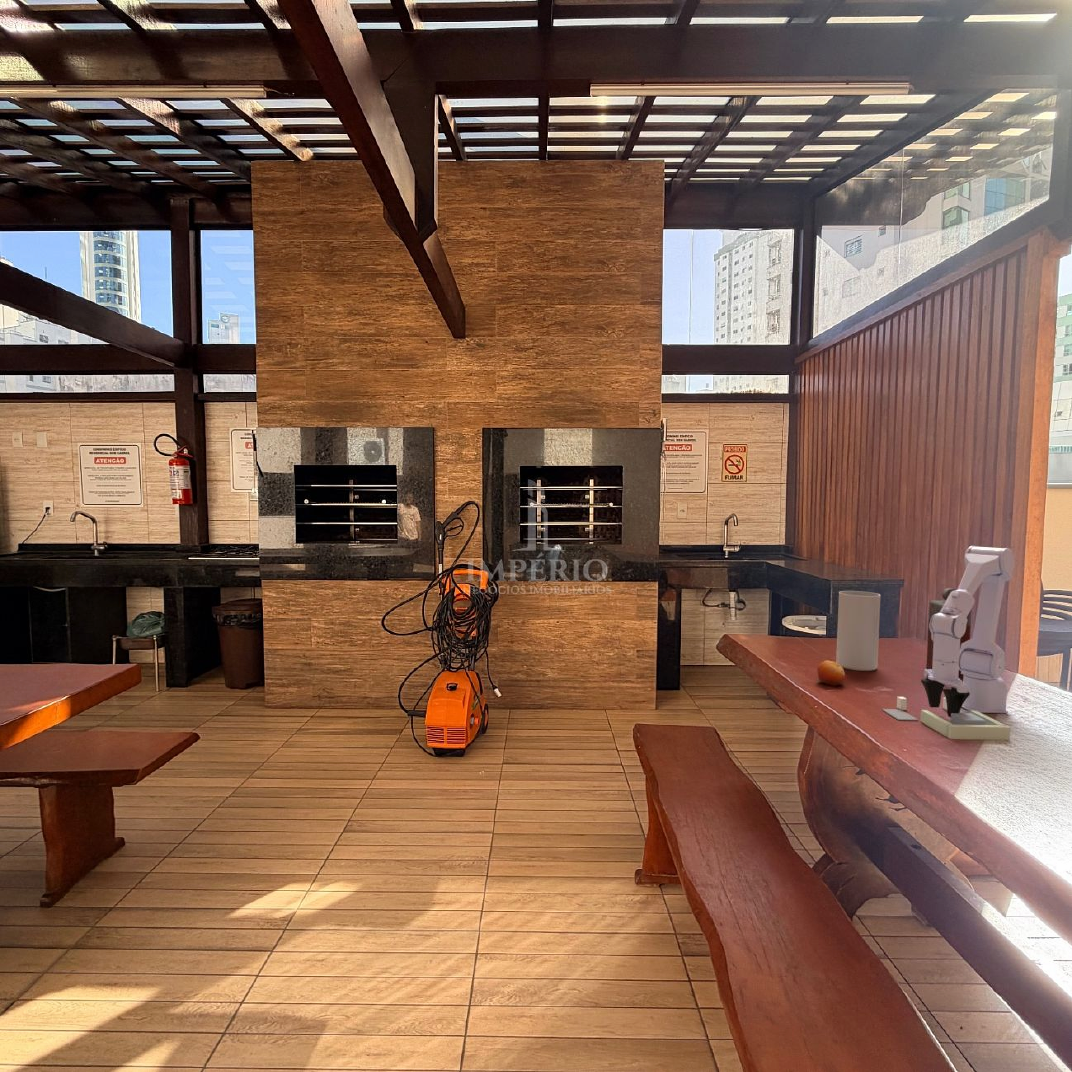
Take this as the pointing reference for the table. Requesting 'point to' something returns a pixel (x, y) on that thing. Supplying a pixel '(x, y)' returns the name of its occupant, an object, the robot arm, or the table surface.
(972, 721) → the block
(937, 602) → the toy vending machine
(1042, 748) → the table surface
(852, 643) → the cylinder vase
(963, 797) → the table surface
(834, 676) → the fruit
